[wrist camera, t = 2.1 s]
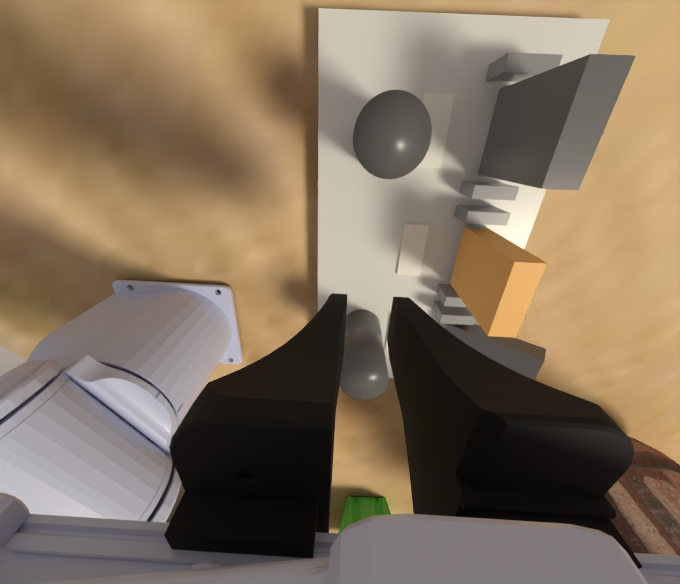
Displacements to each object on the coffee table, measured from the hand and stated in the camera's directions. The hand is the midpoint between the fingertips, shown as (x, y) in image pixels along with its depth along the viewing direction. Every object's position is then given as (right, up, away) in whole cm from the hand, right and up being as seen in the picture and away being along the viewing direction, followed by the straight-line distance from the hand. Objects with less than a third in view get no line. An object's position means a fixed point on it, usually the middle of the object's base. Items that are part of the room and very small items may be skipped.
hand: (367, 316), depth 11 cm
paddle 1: (+7, -3, +10) cm, 13 cm away
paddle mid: (+7, +3, +7) cm, 11 cm away
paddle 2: (+8, +9, +4) cm, 13 cm away
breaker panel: (+4, +4, +9) cm, 11 cm away
